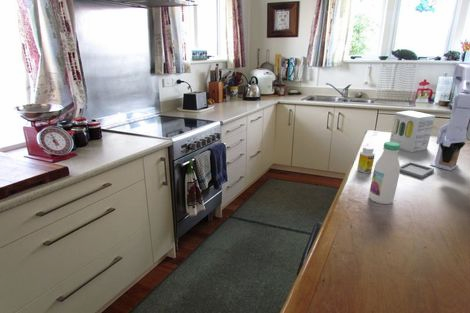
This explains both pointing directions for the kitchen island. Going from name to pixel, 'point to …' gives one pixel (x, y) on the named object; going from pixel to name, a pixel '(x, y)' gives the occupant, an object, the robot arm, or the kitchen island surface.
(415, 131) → the supplement box
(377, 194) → the milk bottle
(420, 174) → the grey tray
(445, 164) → the walnut block
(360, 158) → the supplement bottle
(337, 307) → the kitchen island surface
